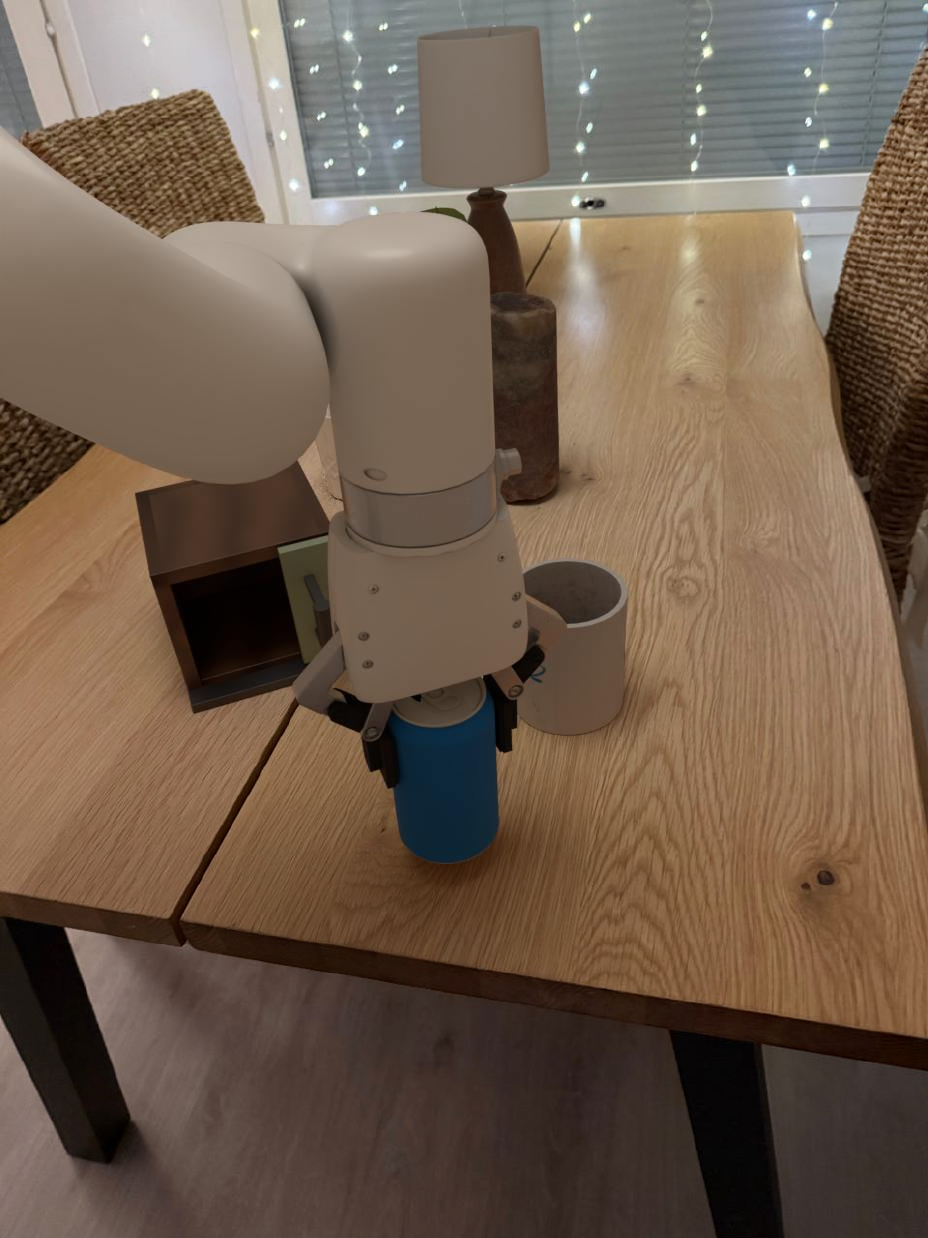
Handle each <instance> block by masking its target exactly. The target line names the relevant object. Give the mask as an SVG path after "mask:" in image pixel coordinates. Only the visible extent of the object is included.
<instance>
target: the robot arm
mask: <svg viewBox="0 0 928 1238" xmlns="http://www.w3.org/2000/svg"><path fill="white" fill-rule="evenodd" d="M0 399H3V400H4V401H6V402H8V403H9V404H12V405H13V406H15V407H18V408H20V409H21V410H24V411H25V412H28V414H32V415H33V416H35V417H37V418H39V419H42V420H45V421H47V422H49V423H51V424H53V425H55V426H57V427H60V428H62V430H63V429H64V430H66V431H67V432H70V433H72V434H75V435H76V436H79V437H81V438H83V439H85V440H88V441H90V442H92V443H94V444H96V445H99V446H101V447H102V448H105V449H107V450H110V451H112V452H114V453H116V454H119V455H121V456H123V457H125V458H128V459H130V460H132V461H134V462H137V463H138V464H139V463H140V464H142V465H145V466H147V467H149V468H151V469H155V470H157V471H159V472H163V473H166V474H169V475H172V476H174V477H178V478H182V479H188V480H196V481H200V482H205V483H215V484H241V483H250V482H254V481H258V480H261V479H264V478H268V477H271V476H273V475H275V474H277V473H279V472H281V471H282V470H284V469H286V468H288V467H289V466H291V465H292V464H293V463H294V462H295V461H297V460H298V461H299V459H300V458H301V457H303V456H304V454H305V453H307V451H308V450H309V448H310V447H311V446H312V444H314V442H315V441H316V440H315V439H316V437H317V435H318V433H319V431H320V429H321V427H322V425H323V422H324V420H325V415H326V411H327V407H328V403H329V409H330V416H331V423H332V430H333V436H334V443H335V450H336V457H337V464H338V472H339V479H340V486H341V493H342V499H341V500H342V506H343V509H342V510H340V511H338V512H336V513H334V515H333V516H332V517H331V519H330V520H329V521H330V526H329V535H328V560H327V564H328V588H329V602H330V613H331V623H332V632H333V637H332V638H331V639H330V640H329V641H328V642H327V644H326V645H325V646H324V647H323V648H322V649H321V651H320V652H319V653H318V654H317V655H316V656H315V658H314V659H313V660H312V661H311V662H310V663H309V665H308V666H307V667H306V668H305V669H304V670H303V672H302V673H301V674H300V675H299V676H298V678H297V679H296V680H295V681H294V683H293V684H292V685H291V688H292V690H293V693H294V697H295V700H296V702H297V704H298V705H299V706H302V707H304V708H306V709H308V710H310V711H313V712H315V713H317V714H319V715H324V716H326V717H328V718H329V721H331V722H333V723H334V724H336V725H339V726H342V727H344V728H346V729H349V730H351V731H354V732H355V733H358V734H360V740H361V746H362V752H363V756H364V760H365V763H366V766H367V768H368V771H369V773H373V772H376V771H379V772H380V774H381V777H382V780H383V782H384V784H385V786H386V789H387V790H390V789H393V788H394V787H396V786H397V785H396V784H399V777H398V770H397V762H396V754H395V747H394V740H393V737H392V734H391V732H390V730H389V728H388V726H387V724H386V723H387V721H388V718H389V716H390V713H391V711H392V708H393V705H394V703H395V700H398V699H402V698H405V697H409V696H413V695H417V694H421V693H424V692H428V691H431V690H435V689H438V688H442V687H446V686H449V685H453V684H456V683H460V682H463V681H467V680H470V679H473V678H477V677H480V676H481V677H482V678H483V680H484V682H485V686H486V687H487V689H488V690H489V692H490V693H491V695H492V698H493V701H494V709H495V734H496V749H497V750H498V752H499V753H503V754H506V753H509V752H512V751H513V730H515V729H518V725H519V723H518V722H519V721H518V714H517V699H518V698H520V697H521V696H522V695H523V694H524V692H525V686H524V683H525V682H526V681H527V680H528V678H529V677H530V676H531V675H532V674H533V673H534V672H535V671H536V669H537V668H538V667H539V666H540V665H541V664H542V663H543V661H544V659H545V653H546V651H547V650H550V649H551V648H552V647H553V646H554V644H555V643H556V642H557V641H558V640H559V638H560V637H561V636H562V635H563V634H564V632H565V631H566V629H567V624H566V622H565V621H564V620H563V619H562V617H561V616H560V615H559V614H558V612H557V611H555V610H554V609H552V608H550V607H548V606H546V605H545V604H543V603H541V602H539V601H538V600H536V599H534V598H532V597H530V596H529V595H527V594H525V586H524V578H523V572H522V570H523V567H522V560H521V557H520V550H519V544H518V540H517V537H516V532H515V527H514V524H513V523H514V522H513V519H512V515H511V513H510V509H509V506H508V503H507V501H505V500H504V499H503V497H502V495H501V493H500V487H501V484H502V481H504V480H507V479H508V477H509V476H513V475H517V474H520V473H521V471H522V462H521V457H520V454H519V452H518V450H517V449H516V448H512V449H508V450H503V449H501V448H499V449H495V431H494V405H493V376H492V343H491V309H490V277H489V265H488V255H487V252H486V248H485V245H484V243H483V240H482V238H481V237H480V235H479V234H478V233H477V231H476V230H475V229H474V228H473V227H472V226H470V225H469V224H468V223H466V222H464V221H462V220H460V219H457V218H454V217H451V216H447V215H443V214H437V213H429V212H420V211H400V212H399V211H396V212H395V211H394V212H387V213H385V212H384V213H378V214H371V215H365V216H361V217H357V218H353V219H349V220H347V221H344V222H342V223H340V224H327V225H325V224H324V225H322V224H321V225H317V224H316V225H315V224H314V225H313V224H281V223H263V222H250V221H207V222H200V223H194V224H191V225H188V226H184V227H181V228H178V229H176V230H175V231H172V232H170V233H169V234H168V235H166V236H165V237H163V238H161V237H159V236H158V235H156V234H154V233H153V232H151V231H149V230H147V229H145V228H144V227H142V226H141V225H139V224H138V223H136V222H134V221H133V220H131V219H129V218H128V217H126V216H124V215H123V214H121V213H120V212H118V211H116V210H115V209H113V208H112V207H110V206H109V205H106V204H105V203H103V202H102V201H100V200H99V199H98V198H96V197H94V196H93V195H91V194H89V192H87V191H85V190H84V189H83V188H81V187H80V186H78V185H77V184H75V183H74V182H72V181H71V180H69V179H68V178H66V177H65V176H64V175H63V174H61V173H59V172H58V171H57V170H55V169H54V168H53V167H51V165H49V164H47V163H46V162H45V161H43V160H42V159H41V158H39V156H37V155H36V154H34V153H33V152H32V151H31V150H29V149H28V148H27V146H25V145H23V144H22V143H21V142H20V141H19V140H17V138H15V137H14V136H13V135H11V133H10V132H9V131H8V130H6V129H5V128H4V127H3V126H2V125H1V124H0ZM528 625H529V626H530V629H529V630H528ZM345 671H346V672H347V677H348V680H349V683H350V685H351V687H352V690H353V693H350V692H348V691H346V690H344V689H342V688H339V687H332V686H333V685H334V684H335V683H336V681H337V680H338V679H339V678H340V677H341V676H342V675H343V673H344V672H345Z"/></svg>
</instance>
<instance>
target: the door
mask: <svg viewBox="0 0 928 1238" xmlns="http://www.w3.org/2000/svg"><path fill="white" fill-rule="evenodd" d="M277 550H278V554H279V558H280V563H281V567H282V571H283V576H284V580H285V585H286V589H287V593H288V598H289V602H290V606H291V611H292V615H293V619H294V624H295V628H296V633H297V637H298V641H299V646H300V650H301V654H302V658H303V661H304V663H305V664H307V663H310V662H311V661H312V660H313V659H314V658H315V656H316V655H317V654H318V653H319V652H320V651H321V649H322V648H323V647H324V646H325V645H326V644H327V642H328V641H329V640H330V639H331V638H332V637H333V632H332V623H331V613H330V602H329V588H328V564H327V560H328V535H327V536H323V537H319V538H315V539H311V540H307V541H303V542H299V543H295V544H291V545H287V546H283V547H279V548H277Z"/></svg>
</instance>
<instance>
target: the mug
mask: <svg viewBox="0 0 928 1238" xmlns="http://www.w3.org/2000/svg"><path fill="white" fill-rule="evenodd" d="M522 572H523V578H524V586H525V594H527V595H529V596H530V597H532V598H534V599H536V600H538V601H539V602H541V603H543V604H545V605H546V606H548V607H550V608H552V609H554V610H555V611H557V612H558V614H559V615H560V616H561V617H562V619H563V620H564V621H565V622H566V624H567V629H566V631H565V632H564V634H563V635H562V636H561V637H560V638H559V640H558V641H557V642H556V643H555V644H554V646H553V647H552V648H551V649H550V650H547V651H546V653H545V659H544V661H543V663H542V664H541V665H540V666H539V667H538V668H537V669H536V671H535V672H534V673H533V674H532V675H531V676H530V677H529V678H528V680H527V681H526V682H525V683H524V686H525V692H524V694H523V695H522V696H521V697H520V698H518V699H517V716H518V717H519V718H520V719H521V720H522V721H524V722H525V723H526V724H528V725H529V726H531V727H532V728H534V729H537V730H539V731H542V732H544V733H547V734H548V733H549V734H553V735H561V736H575V735H583V734H588V733H592V732H594V731H597V730H600V729H602V728H603V727H605V726H607V725H608V724H610V723H611V722H612V721H613V720H615V719H616V718H617V716H618V714H620V712H621V709H622V707H623V704H624V688H625V667H626V666H625V664H626V663H625V662H626V642H627V641H626V640H627V639H626V638H627V617H628V616H627V615H628V614H627V613H628V593H629V592H628V591H629V590H628V587H627V583H626V582H625V580H624V579H623V577H622V576H621V575H620V574H619V573H618V572H617V571H616V570H614V569H612V568H611V567H609V566H607V565H604V564H602V563H600V562H597V561H595V560H594V561H593V560H590V559H583V558H578V557H577V558H576V557H574V558H573V557H562V558H552V559H547V560H542V561H538V562H535V563H533V564H530V565H528V566H526V567H524V568H522ZM529 629H530V626H529V625H528V630H529Z"/></svg>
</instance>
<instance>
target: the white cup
mask: <svg viewBox="0 0 928 1238" xmlns="http://www.w3.org/2000/svg"><path fill="white" fill-rule="evenodd" d="M314 441H315V444H316V448H317V452H318V455H319V460H320V464H321V467H322V470H323V471H324V475H325V480H326V481H325V482H326V485H327V490H328V493H329V494H331V496H332V497H334V498H335V499H338V500H342V493H341V486H340V479H339V472H338V464H337V457H336V450H335V443H334V436H333V430H332V423H331V416H330V409H329V403H328V407H327V411H326V415H325V420H324V422H323V425H322V427H321V429H320V431H319V433H318V435H317V437H316V439H315V440H314Z"/></svg>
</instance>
